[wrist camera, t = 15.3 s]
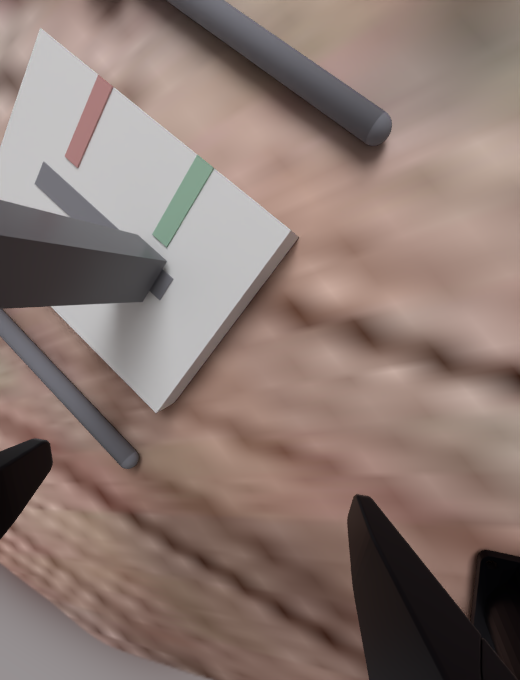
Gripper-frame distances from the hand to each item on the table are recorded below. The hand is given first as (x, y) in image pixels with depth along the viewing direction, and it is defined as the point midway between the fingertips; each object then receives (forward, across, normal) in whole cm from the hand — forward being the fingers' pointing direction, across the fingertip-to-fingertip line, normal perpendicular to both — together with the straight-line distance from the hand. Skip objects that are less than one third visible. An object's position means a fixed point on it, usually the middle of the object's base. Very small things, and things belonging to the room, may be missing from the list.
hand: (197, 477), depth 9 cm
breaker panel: (+14, +10, -5) cm, 18 cm away
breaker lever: (+11, +7, -4) cm, 13 cm away
